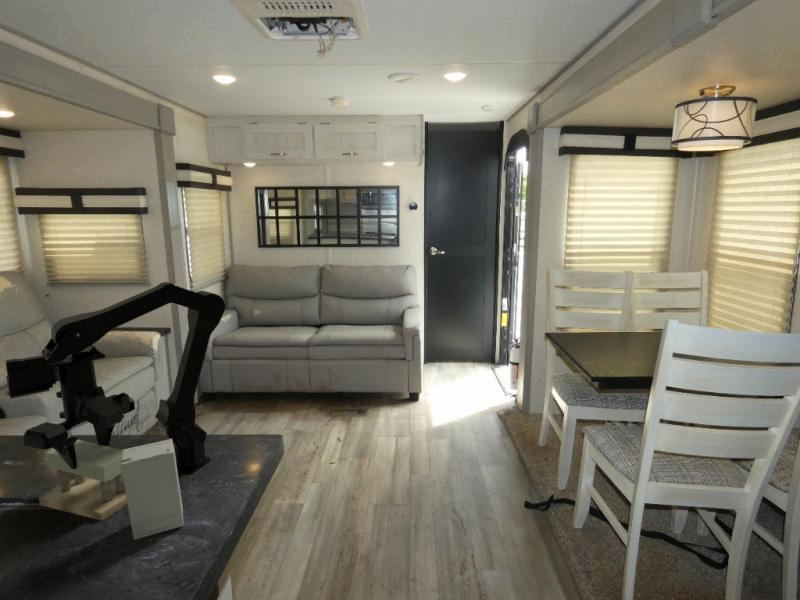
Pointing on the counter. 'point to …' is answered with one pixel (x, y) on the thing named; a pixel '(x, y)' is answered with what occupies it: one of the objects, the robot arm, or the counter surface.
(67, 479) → the peg stand
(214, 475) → the counter surface
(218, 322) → the robot arm
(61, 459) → the plank
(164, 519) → the skincare box
